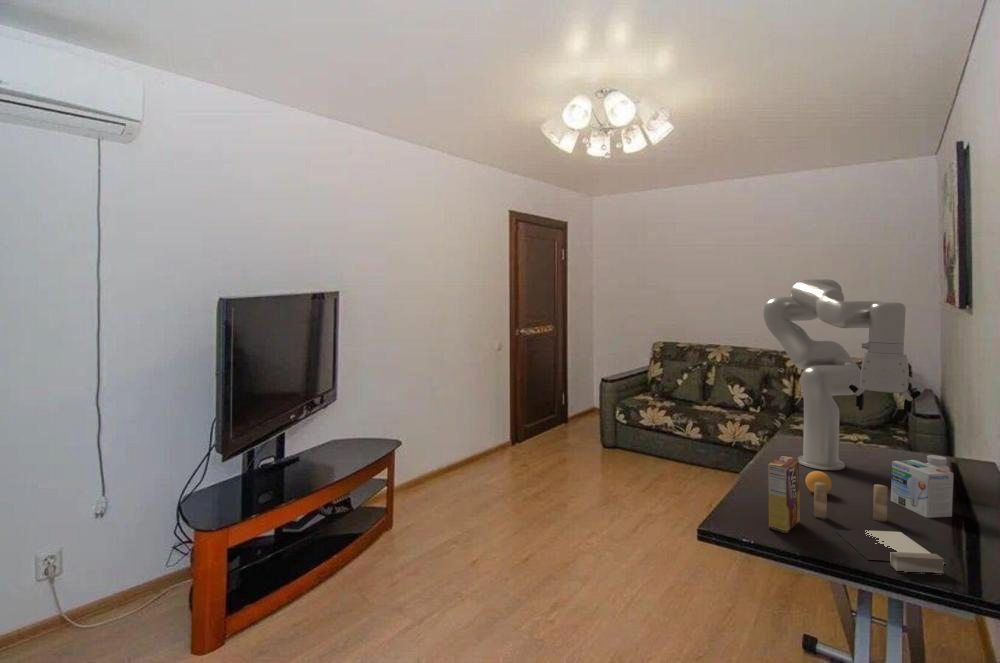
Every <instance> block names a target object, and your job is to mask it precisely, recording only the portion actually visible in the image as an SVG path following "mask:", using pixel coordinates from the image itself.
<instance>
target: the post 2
mask: <svg viewBox="0 0 1000 663" xmlns="http://www.w3.org/2000/svg"><path fill="white" fill-rule="evenodd" d="M888 489H889V488H888V486H886V485H884V484H874V485H873V503H872V504H873V505H872V506H873V508H872V509H873V510H872V519H873V520H874V519H875V521H876V520H877V522H880V523H881V522H882V523H886V522H887V521H888V520H887V519H888Z"/></svg>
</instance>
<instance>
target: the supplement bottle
mask: <svg viewBox="0 0 1000 663" xmlns="http://www.w3.org/2000/svg"><path fill="white" fill-rule="evenodd" d="M926 461H927V462H926V463H925V462H924V463H925V464H928V465H931V466H934V467H937V468H940V469H943V470H946V471H949V472H951V469H950V467H949V466H948V465H947V464H948V463H947V462H948V459H947V457H945V456H942V455H936V454H935V455H934V454H928V455H926Z"/></svg>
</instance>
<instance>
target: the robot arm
mask: <svg viewBox="0 0 1000 663" xmlns="http://www.w3.org/2000/svg"><path fill="white" fill-rule="evenodd" d="M763 306H764V307H763V313H762V314H763V320H764V323H765V325H766V327H767V330H769V332H770V333H771V334H772V336H774V338H776V340H777V341H778V342H779V343H780V345H781V347H782V348H783V350H784V351H785V353H786V354H787V357H788V358H789V359H790V361H791V362H792V363H793V365H794V366H795V367H796V368H797V369H800V370H802V372H801V373H800V386H801V390H802V396H803V437H802V438H803V440H802V441H803V444H802V446H803V447H802V453H803V454H802V455H799V456H798V457H797V459H799V465H802V466H804V467H807V468H810V469H811V468H812V469H815V470H816V469H817V470H822V471H841V470H843V469H845V463H844V461H841V460H840V458H839V456H840V455H839V454H840V453H839V451H840V409H839V406H838V404H837V403H836V401H835V400H834V398H833V396H834V397H835V396H852V395H856V401H855V406H856V407H857V408H858V411H862V410H864V401H865V399H864V398H865V395H864V392H865V391H871V392H880V393H890V394H891V393H892V394H901V395H902V396H903V397H904V398H905V399H904V401H903V416H904V417H908V413H912V402H913V400H915V399H916V398H918V397H919V396H921V395H922V393H923V392H924V391H925V390H926V388H927V384H925V383H923V382H922V381H919V380H917V379H915V378H914V377H911V376H910V371H909V360H908V355H907V354H904V352H905V350H904V349H905V331H906V330H905V328H906V306H905V305H904V304H903V303H902V302H893V301H892V302H891V301H890V302H889V301H888V302H884V301H880V300H879V301H878V300H877V301H876V300H852V301H851V300H849V301H847V300H846V301H845V295H844V293H843V289H842V286H841V284H840V283H838V282H837V281H835V280H833V279H829V278H828V279H826V278H825V279H803V280H800V281H797V282H796V283H795V284H794V285H792V287H791V289H790V296H779V297H778V296H777V297H773V298H771V299H769V300H768V301H766V302H765V304H764V305H763ZM818 318H819V319H820V320H821V322H824V323H826V324H827V325H831V326H832V327H835V328H839V329H868V341H867V342H865V343H864V342H863V343H861V349H865V350H867V352H864V353H863V357H862V361H861V369H860V367H859V366H858V365H857V363H856V362H855V361H854V359H853V358H852V357H851V355H850V354H849V352H847V350H846V349H845V348H844V346H842V345H841V344H839V342H836V341H832V340H814V339H812V338H811V337H810V336H809V334H808V333H807V332H806V330H805V329H803V327H802V326H799V325H798V324H797V323H795V321H796V322H797V321H798V322H799V321H801V322H802V321H813V320H815V319H818ZM909 384H912V385H913V386H915V387H917V389H916V390H915V391H914V392H912V393H911V392H910V391H909V390H908V389H909Z"/></svg>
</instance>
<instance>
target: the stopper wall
mask: <svg viewBox="0 0 1000 663" xmlns="http://www.w3.org/2000/svg"><path fill="white" fill-rule="evenodd" d="M944 561H945V559H944V558H943V557H942V556H940V555H938V554H937V553H931V554H927V553H908V552H890V563H889V564H890V565H891V566H892V567H893V568H894V569H895V570H896V571H904V572H903V573H907V572H921V573H920V574H923V573H922V572H934V573H943V574H944V563H945V562H944ZM890 565H889V566H890ZM894 569H893V570H894ZM895 570H894V571H895ZM896 571H895V572H896Z"/></svg>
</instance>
